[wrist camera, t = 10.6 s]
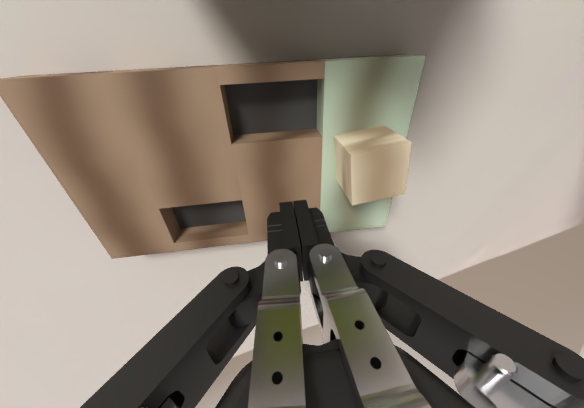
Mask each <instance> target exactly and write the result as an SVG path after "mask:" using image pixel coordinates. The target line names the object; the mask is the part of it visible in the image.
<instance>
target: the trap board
mask: <svg viewBox="0 0 584 408" xmlns="http://www.w3.org/2000/svg"><path fill="white" fill-rule="evenodd" d="M425 58H426V56H424V55H391V56H373V57H355V58H337V59H319V60H301V61H283V62H265V63H247V64H229V65H211V66H193V67H175V68H157V69H139V70H121V71H103V72H85V73H67V74H49V75H31V76H19V77H11V78H3V79H0V96H1V98H2V99H3V101H4V102H5V104H6V105H7V106H8V108H9V109H10V111H11V112H12V114H13V115H14V117H15V118H16V120H17V121H18V122H19V124H20V125H21V127H22V128H23V130H24V131H25V133H26V134H27V136H28V137H29V138H30V140H31V141H32V143H33V144H34V146H35V147H36V149H37V150H38V152H39V153H40V155H41V156H42V157H43V159H44V160H45V162H46V163H47V165H48V166H49V168H50V169H51V171H52V172H53V173H54V175H55V176H56V178H57V179H58V181H59V182H60V184H61V185H62V187H63V188H64V189H65V191H66V192H67V194H68V195H69V197H70V198H71V200H72V201H73V203H74V204H75V206H76V207H77V208H78V210H79V211H80V213H81V214H82V216H83V217H84V219H85V220H86V222H87V223H88V224H89V226H90V227H91V229H92V230H93V232H94V233H95V235H96V236H97V238H98V239H99V240H100V242H101V243H102V245H103V246H104V248H105V249H106V251H107V252H108V254H109V255H110V256H111V258H112V259H113V258H122V257H130V256H139V255H147V254H155V253H164V252H172V251H180V250H189V249H197V248H206V247H214V246H222V245H231V244H239V243H248V242H256V241H264V240H267V218H268V216H269V215H270V213H272V212H280V206H279V203H280V202H289V201H292V203H293V201H297V200H306V201H307V204H308V208H315V207H317V208H318V209H319V210H320V211H321V212H322V213H323V216H324V219H325V221H326V224H327V227H328V230H329V232H330V233H331V232H340V231H348V230H357V229H365V228H373V227H382V226H385V225H386V221H387V217H388V213H389V209H390V204H391V200H392V197H389V198H384V199H380V200H375V201H370V202H366V203H361V204H357V205H352V204H351V203H350V201H349V200H348V198H347V196H346V195H345V193H344V191H343V190H342V188H341V186H340V185H339V183H338V182H337V180H336V166H335V151H334V137H333V136H334V135H338V134H343V133H348V132H352V131H357V130H362V129H366V128H371V127H376V126H380V125H385V126H386V127H388V128H390V129H391V130H393V131H394V132H396V133H398V134H399V135H401V136H403V137H404V138H406V137H407V133H408V129H409V125H410V120H411V116H412V112H413V108H414V104H415V99H416V95H417V91H418V87H419V83H420V79H421V74H422V70H423V66H424V62H425Z"/></svg>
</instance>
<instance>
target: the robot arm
mask: <svg viewBox="0 0 584 408" xmlns="http://www.w3.org/2000/svg"><path fill="white" fill-rule="evenodd" d="M279 206H280V212H272V213H270V215H269V216H268V218H267V240H268V255H267V257H266V259H265V261H264V262H263V263H262V264H261V265H260V266H258V267H256V268H254V269H252V270H249V271H246V270H245V269H244V268H241V267H231V268H228V269H225V270H224V271H222V272H221V273H220V274H219V275H218V276H217V277H216V278H215V279H213V280H212V281H211V282H210V283H209V284H208V285H207V286H206V287H205V288H204V289H203V290H202V291H201V292H200V293H199V294H198V295H197V296H196V297H195V298H194V299H193V300H192V301H191V302H190V303H188V304H187V305H186V306H185V307H184V308H183V309H182V310H181V311H180V312H179V313H178V314H177V315H176V316H175V317H174V318H173V319H172V320H171V321H170V322H169V323H168V324H167V325H166V326H164V327H163V328H162V329H161V330H160V331H159V332H158V333H157V334H156V335H155V336H154V337H153V338H152V339H151V340H150V341H149V342H148V343H147V344H146V345H145V346H144V347H143V348H142V349H141V350H139V351H138V352H137V353H136V354H135V355H134V356H133V357H132V358H131V359H130V360H129V361H128V362H127V363H126V364H125V365H124V366H123V367H122V368H121V369H120V370H119V371H118V372H117V373H116V374H114V375H113V376H112V377H111V378H110V379H109V380H108V381H107V382H106V383H105V384H104V385H103V386H102V387H101V388H100V389H99V390H98V391H97V392H96V393H95V394H94V395H93V396H92V397H91V398H89V399H88V400H87V401H86V402H85V403H84V404H83V405H82V406H81V407H80V408H195V407H196V405H197V404H198V403H199V401H200V400H201V399H202V397H203V396H204V394H205V393H206V392H207V390H208V389H209V388H210V386H211V385H212V383H213V382H214V381H215V380H216V378H217V377H218V376H219V374H220V373H221V371H222V370H223V369H224V367H225V366H226V365H227V363H228V362H229V361H230V359H231V358H232V357H233V355H234V354H235V353H236V351H237V350H238V348H239V347H240V346H241V344H242V343H243V342H244V340H245V339H246V338H247V336H248V335H249V334H250V332H251V331H252V329H253V328H254V327H255V325H256V330H255V340H254V351H253V360H252V361H251V362H250V363H248V364H247V365H246V366H245V367H244V368H243V369H242V370H241V371H240V372H239V373H238V374H237V376H236V377H235V378H234V380H233V381H232V383H231V384H230V386H229V387H228V389H227V390H226V392H225V393H224V395H223V396H222V398H221V400H220V401H219V403H218V404H217V406H216V407H215V408H584V359H583V358H582V357H581V356H579V355H578V354H576V353H575V352H573V351H571V350H570V349H568V348H566V347H564V346H562V345H560V344H558V343H556V342H555V341H553V340H550V339H549V338H547V337H545V336H543V335H541V334H539V333H538V332H536V331H534V330H532V329H530V328H528V327H526V326H524V325H522V324H520V323H519V322H517V321H515V320H513V319H511V318H509V317H507V316H505V315H503V314H501V313H500V312H497V311H496V310H494V309H492V308H490V307H488V306H486V305H484V304H482V303H480V302H479V301H477V300H475V299H473V298H471V297H469V296H467V295H465V294H464V293H462V292H460V291H458V290H456V289H454V288H452V287H450V286H448V285H446V284H445V283H442V282H441V281H439V280H437V279H435V278H433V277H431V276H429V275H428V274H426V273H424V272H422V271H420V270H418V269H416V268H414V267H412V266H411V265H409V264H407V263H405V262H403V261H401V260H399V259H397V258H395V257H393V256H392V255H390V254H388V253H386V252H383V251H380V250H370V251H367V252H365V253H364V254H363V255H362V257H356V256H349V255H346V254H343V253H341V252H340V251H339V249H338V248H337V247H335V246H334V243H333V241H332V238H331V235H330V232H329V230H328V227H327V224H326V221H325V219H324V216H323V213H322V212H321V211H320V210H319V209H318V208H317V207H315V208H308V204H307V201H306V200H297V201H293V203H292V201H289V202H280V203H279ZM302 271H303V274H302ZM303 276H304V281H307V280H309V282H310V289H311V298H312V301H313V305H314V308H315V312H316V315H317V319H318V322H319V326H320V330H321V333H322V339H323V345H321V346H315V345H307V344H303V338H302V322H301V306H300V294H301V287H300V281H303ZM385 328H386V329H387V330H388V331H390V332H391V333H392V334H394V335H395V336H396V337H398V338H399V339H400V340H402V341H403V342H404V343H406V344H407V345H408V346H410V347H411V348H413V349H414V350H415V351H417V352H418V353H419V354H421V355H422V356H423V357H425V358H426V359H427V360H429V361H430V362H431V363H433V364H434V365H435V366H437V367H438V368H439V369H441V370H442V371H444V372H445V373H446V374H448V375H449V376H450V377H452V378H453V379H454V382H455V386H456V388H457V390H458V392H459V394H460V395H459V394H458V393H457V392H456V391H454V390H453V389H452V388H451V387H449V386H448V385H447V384H445V383H444V382H443V381H442V380H441V379H439V378H438V377H437V376H436V375H434V374H433V373H432V372H431V371H429V370H428V369H427V368H426V367H425V366H423V365H422V364H421V363H419V362H418V361H417V360H416V359H415V358H413V357H412V356H411V355H409V354H408V353H407V352H405V351H404V350H402V349H401V348H399V347H397V346H395V345H394V344H393V342H392V340H391V338H390V337H389V335H388V333H387V331H386V329H385Z"/></svg>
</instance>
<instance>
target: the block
mask: <svg viewBox="0 0 584 408" xmlns="http://www.w3.org/2000/svg"><path fill="white" fill-rule="evenodd" d="M333 137H334V151H335V166H336V180H337V182H338V183H339V185H340V186H341V188H342V190H343V191H344V193H345V195H346V196H347V198H348V200H349V201H350V203H351V204H352V205H357V204H361V203H366V202H370V201H375V200H380V199H384V198H389V197H393V196H398V195H402V194H405V191H406V183H407V175H408V167H409V159H410V151H411V144H412V142H411V141H409V140H408V139H406V138H404V137H403V136H401V135H399V134H398V133H396V132H394V131H393V130H391V129H390V128H388V127H386V126H385V125H380V126H376V127H371V128H366V129H362V130H357V131H352V132H348V133H343V134H338V135H334V136H333Z"/></svg>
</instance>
